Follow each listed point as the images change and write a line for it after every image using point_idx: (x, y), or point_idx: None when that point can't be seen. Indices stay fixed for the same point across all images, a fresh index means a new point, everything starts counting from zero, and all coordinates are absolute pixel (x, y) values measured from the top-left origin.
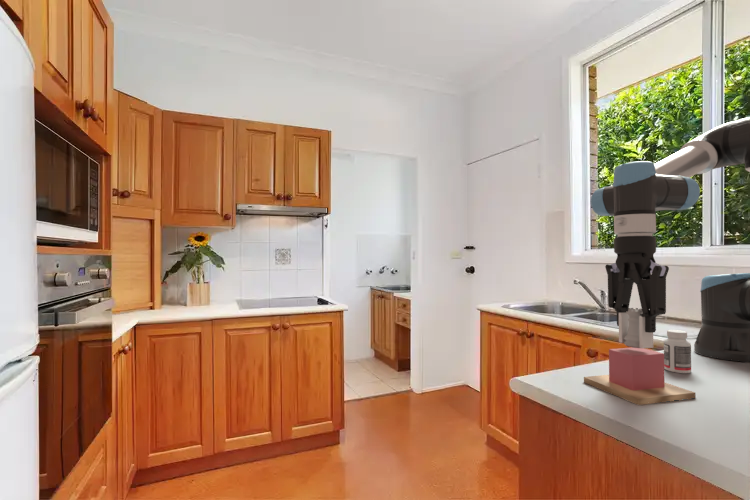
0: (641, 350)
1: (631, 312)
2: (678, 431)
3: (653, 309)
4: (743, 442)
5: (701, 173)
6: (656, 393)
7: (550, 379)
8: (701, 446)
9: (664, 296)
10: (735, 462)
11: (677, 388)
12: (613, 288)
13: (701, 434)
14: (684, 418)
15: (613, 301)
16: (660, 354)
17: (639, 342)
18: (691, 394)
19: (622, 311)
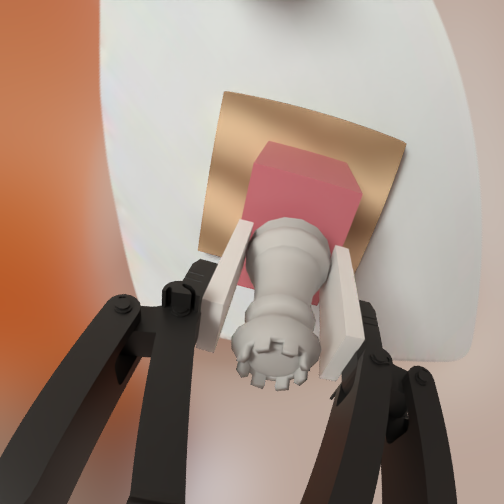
0: (293, 213)
1: (273, 377)
2: (418, 328)
3: (390, 420)
4: (478, 297)
5: None
6: (356, 229)
7: (163, 281)
8: (441, 343)
9: (443, 455)
10: (466, 348)
11: (369, 144)
12: (95, 433)
13: (441, 314)
14: (417, 278)
15: (131, 369)
16: (356, 208)
17: (319, 295)
18: (401, 154)
19: (197, 336)
